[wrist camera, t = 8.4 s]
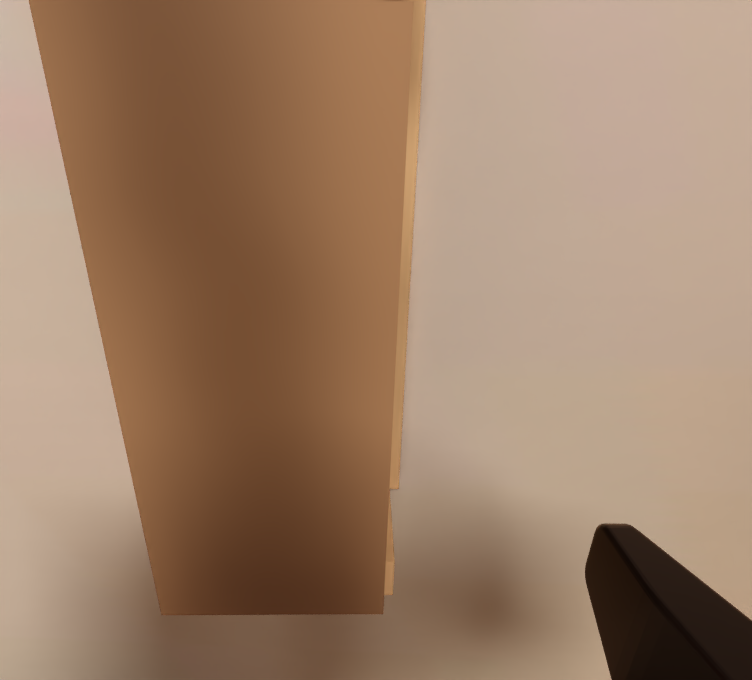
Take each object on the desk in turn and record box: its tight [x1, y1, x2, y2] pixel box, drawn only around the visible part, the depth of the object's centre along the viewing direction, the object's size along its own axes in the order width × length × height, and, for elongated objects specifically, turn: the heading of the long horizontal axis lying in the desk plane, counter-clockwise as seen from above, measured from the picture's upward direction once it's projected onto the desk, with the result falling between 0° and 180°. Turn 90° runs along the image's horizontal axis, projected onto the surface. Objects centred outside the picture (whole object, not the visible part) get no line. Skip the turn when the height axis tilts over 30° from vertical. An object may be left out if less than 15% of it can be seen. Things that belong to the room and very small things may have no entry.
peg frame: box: [384, 0, 426, 595], centre depth 15 cm, size 7×19×6 cm, turn 179°
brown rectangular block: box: [29, 0, 414, 615], centre depth 13 cm, size 5×12×6 cm, turn 178°
